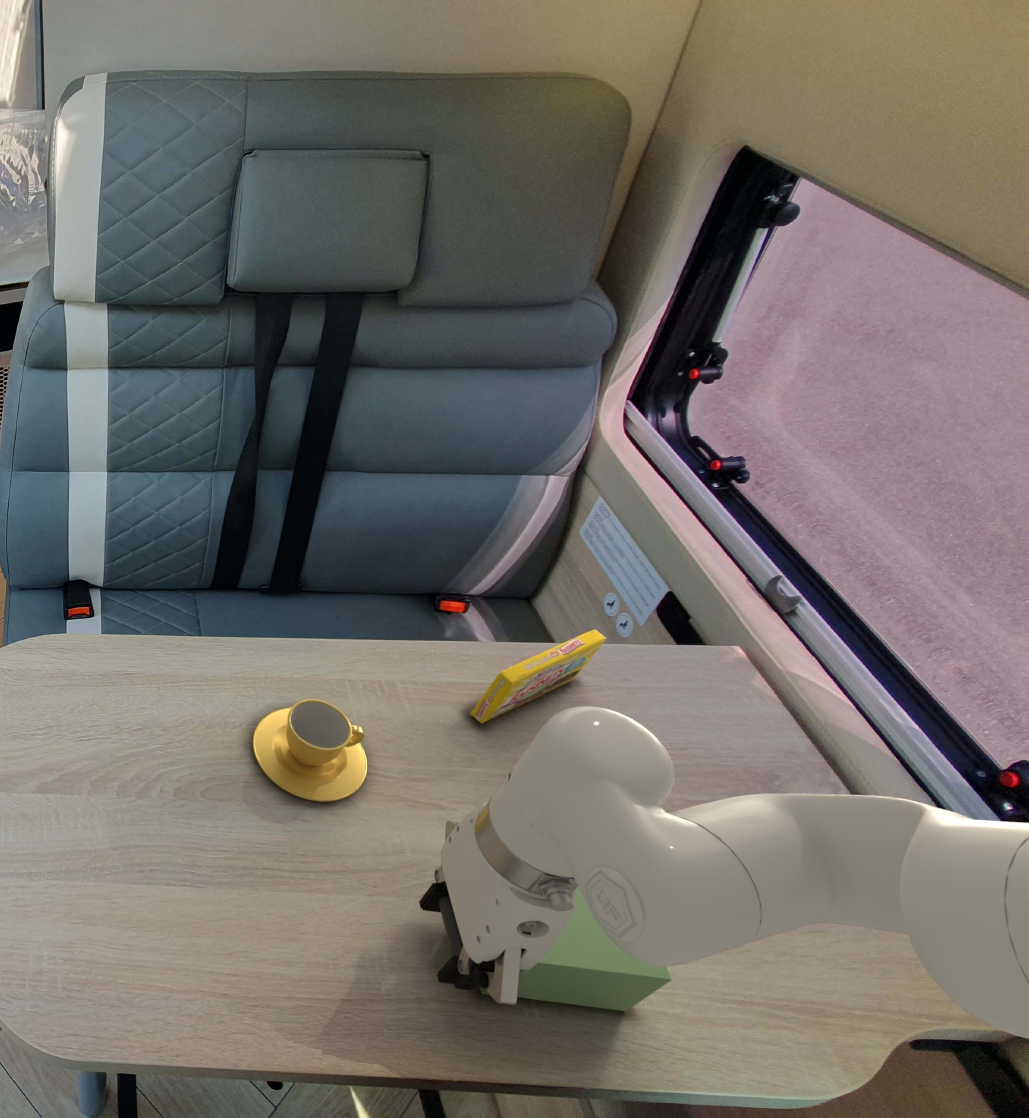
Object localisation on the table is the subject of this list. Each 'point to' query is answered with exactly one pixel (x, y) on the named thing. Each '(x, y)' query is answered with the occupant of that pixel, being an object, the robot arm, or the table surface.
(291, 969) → the table surface
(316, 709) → the cup
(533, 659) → the candy box
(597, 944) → the lunchbox
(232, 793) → the table surface
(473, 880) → the robot arm
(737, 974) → the table surface
